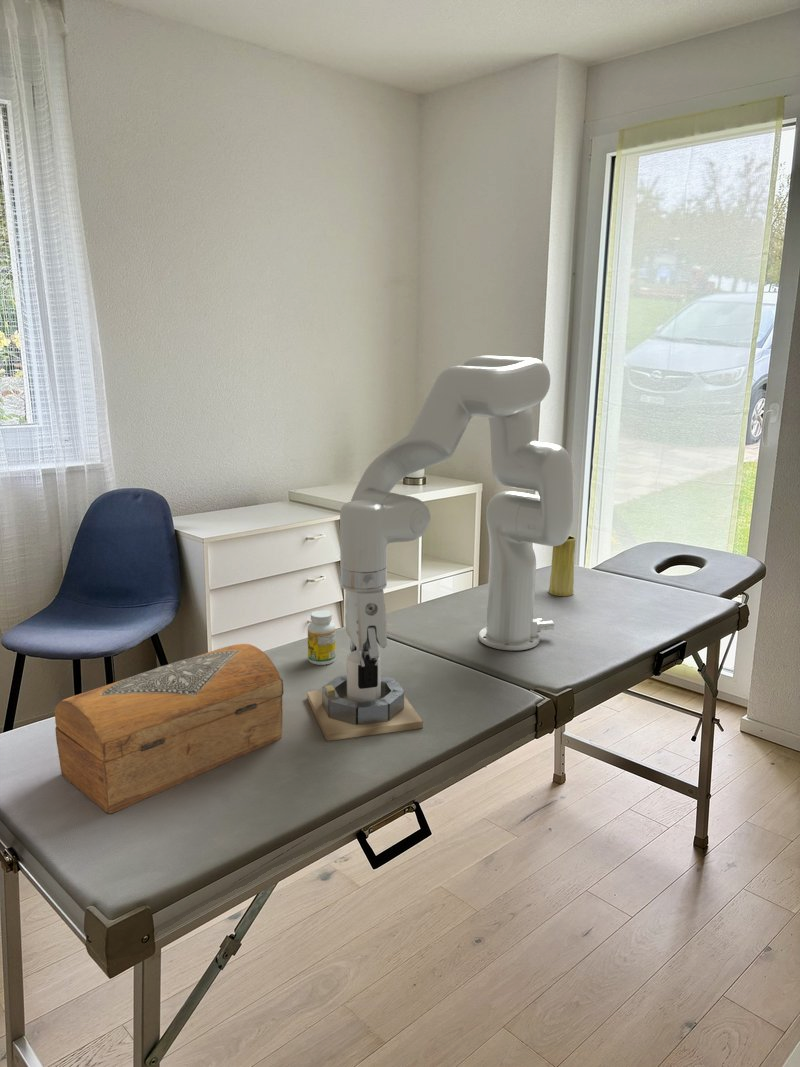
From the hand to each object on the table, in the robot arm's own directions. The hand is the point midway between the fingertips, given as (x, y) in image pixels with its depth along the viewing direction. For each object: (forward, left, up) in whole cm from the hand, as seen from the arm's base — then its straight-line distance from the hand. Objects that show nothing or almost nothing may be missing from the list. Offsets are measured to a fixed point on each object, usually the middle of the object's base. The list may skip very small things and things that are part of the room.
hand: (363, 679), depth 138 cm
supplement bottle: (+2, -24, -6) cm, 25 cm away
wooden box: (+31, +6, -6) cm, 32 cm away
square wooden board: (0, 0, -6) cm, 6 cm away
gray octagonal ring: (0, 0, -5) cm, 5 cm away
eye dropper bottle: (0, 0, -4) cm, 4 cm away
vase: (-64, -50, -6) cm, 81 cm away
